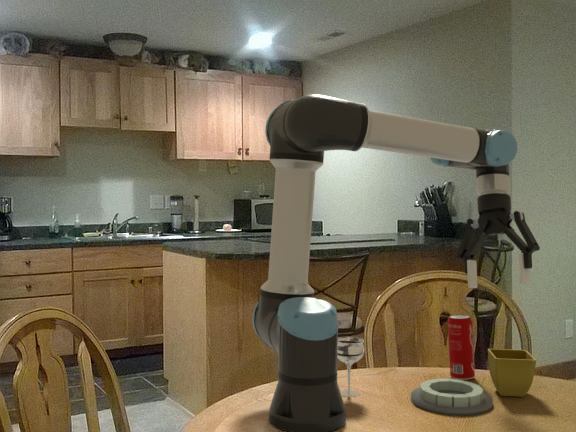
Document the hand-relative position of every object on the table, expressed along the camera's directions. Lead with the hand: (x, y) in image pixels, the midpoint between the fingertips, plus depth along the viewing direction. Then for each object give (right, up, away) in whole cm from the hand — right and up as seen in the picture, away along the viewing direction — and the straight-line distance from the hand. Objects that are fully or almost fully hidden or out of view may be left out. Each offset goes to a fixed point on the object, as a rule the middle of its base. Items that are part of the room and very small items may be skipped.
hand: (498, 286), depth 153 cm
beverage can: (-6, -23, +8) cm, 25 cm away
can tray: (-13, -24, -9) cm, 29 cm away
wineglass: (-35, -24, -4) cm, 42 cm away
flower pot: (+2, -24, -4) cm, 24 cm away
